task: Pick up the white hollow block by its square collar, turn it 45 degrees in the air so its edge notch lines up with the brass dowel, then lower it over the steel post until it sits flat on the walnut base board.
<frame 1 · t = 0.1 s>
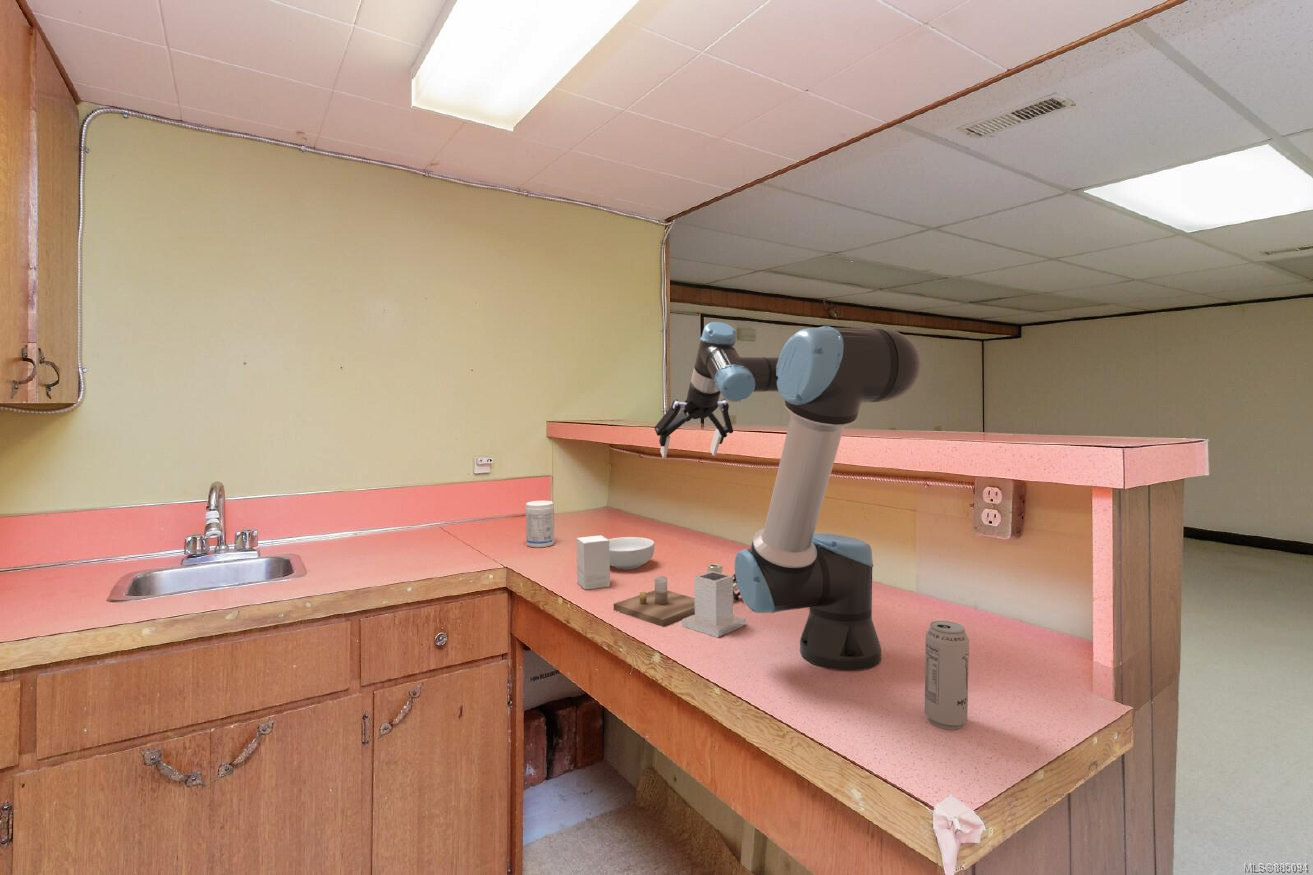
hand: (688, 453, 162), 36 cm above the counter, tool tilted 35°, fingers open, 13 cm apart
cereal bowl: (626, 566, 189), on the counter
valve: (723, 595, 161), on the counter
base board: (661, 609, 150), on the counter
energy drink can: (945, 722, 98), on the counter
white hollow block: (713, 625, 139), on the counter
supplement tub: (540, 545, 217), on the counter
supplement box: (593, 585, 170), on the counter
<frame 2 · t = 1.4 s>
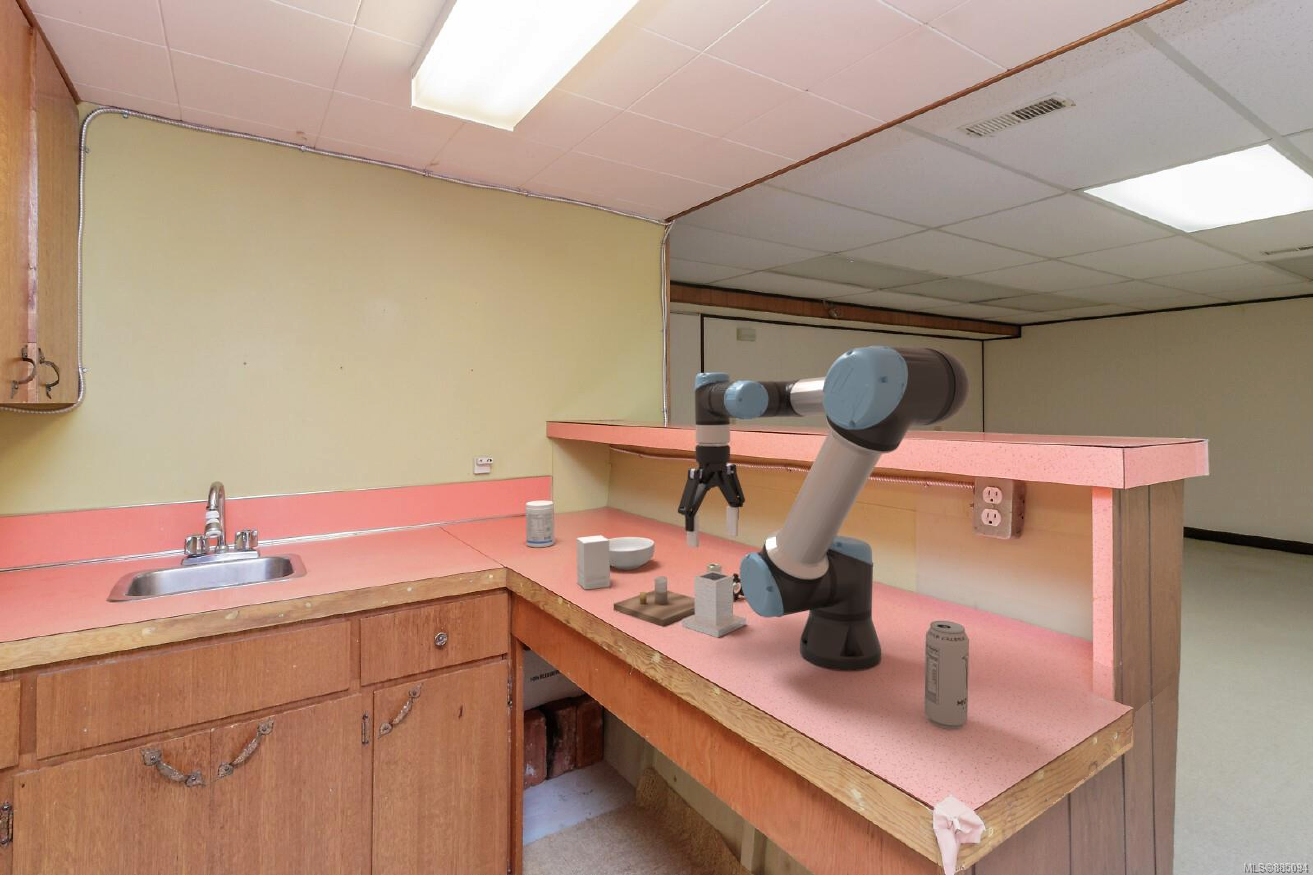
hand: (713, 540, 138), 19 cm above the counter, tool pointing down, fingers open, 13 cm apart
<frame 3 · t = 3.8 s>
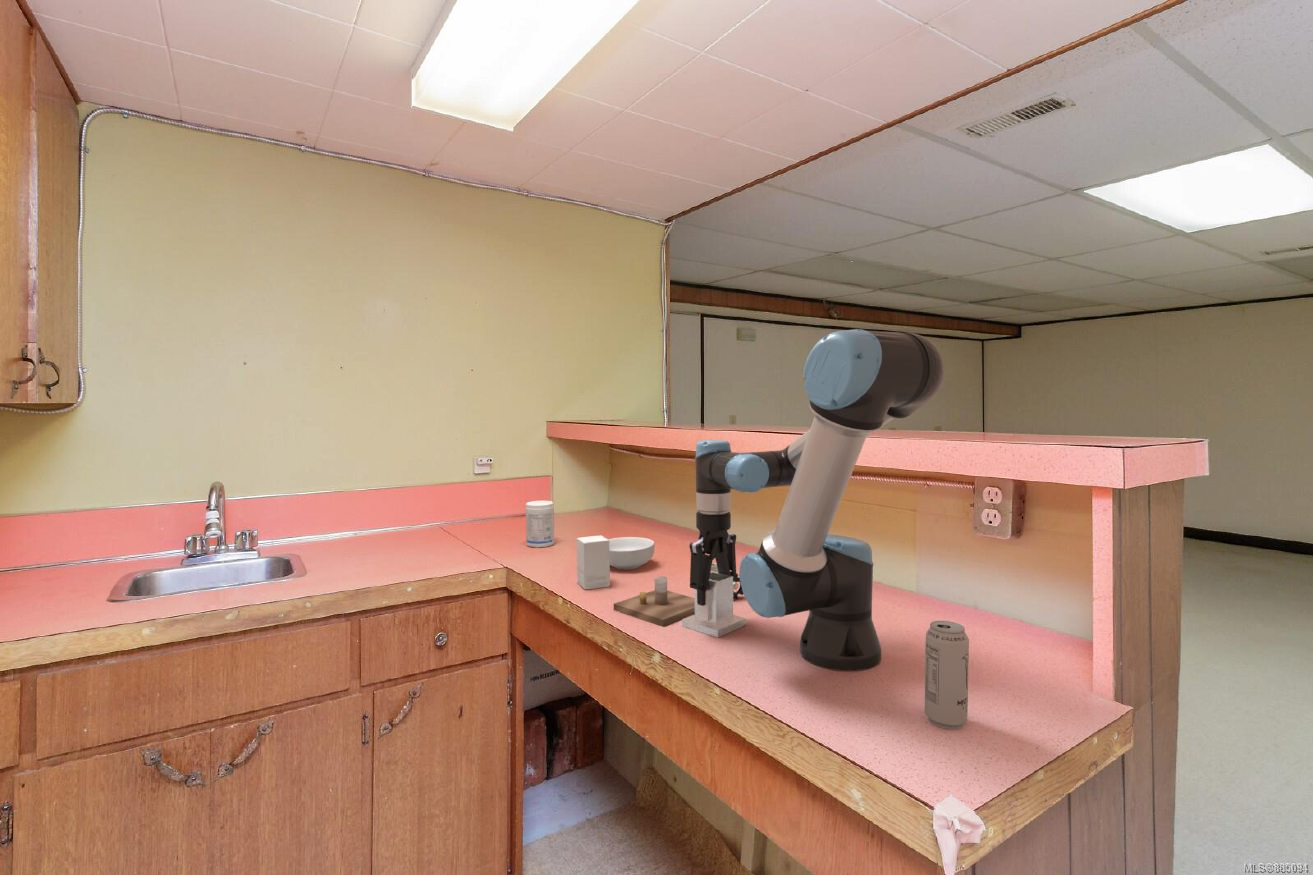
hand: (713, 614, 139), 2 cm above the counter, tool pointing down, fingers closed on white hollow block, 6 cm apart
white hollow block: (714, 625, 139), on the counter, touching gripper
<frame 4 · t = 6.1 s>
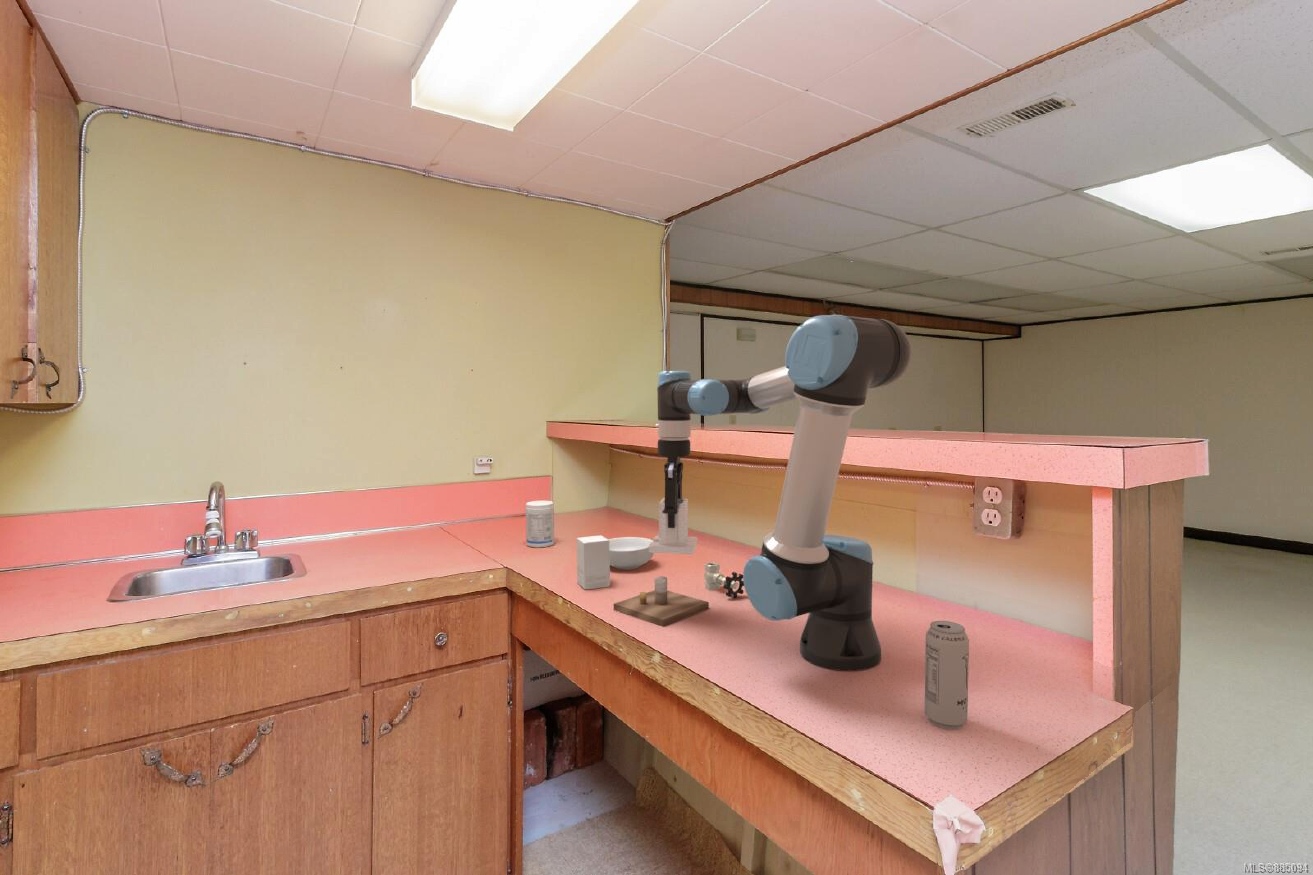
hand: (673, 537, 147), 18 cm above the counter, tool pointing down, fingers closed on white hollow block, 6 cm apart
white hollow block: (673, 547, 147), point 15 cm above the counter, touching gripper
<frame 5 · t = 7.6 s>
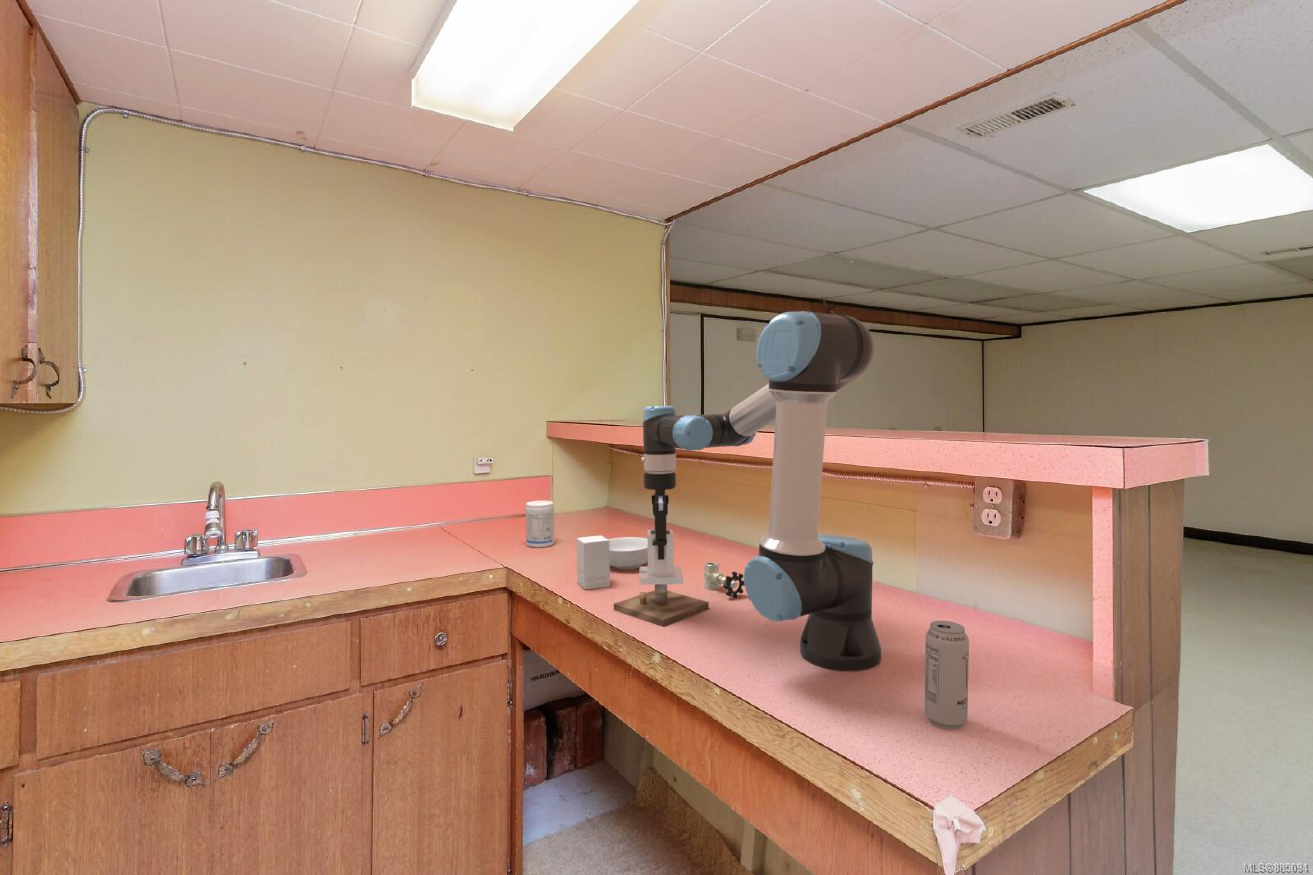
hand: (660, 568, 150), 10 cm above the counter, tool pointing down, fingers closed on white hollow block, 6 cm apart
white hollow block: (660, 578, 150), point 7 cm above the counter, touching gripper
when the fingers open (5 cm above the counter, at t = 8.8 s): white hollow block drops 1 cm, resting on base board.
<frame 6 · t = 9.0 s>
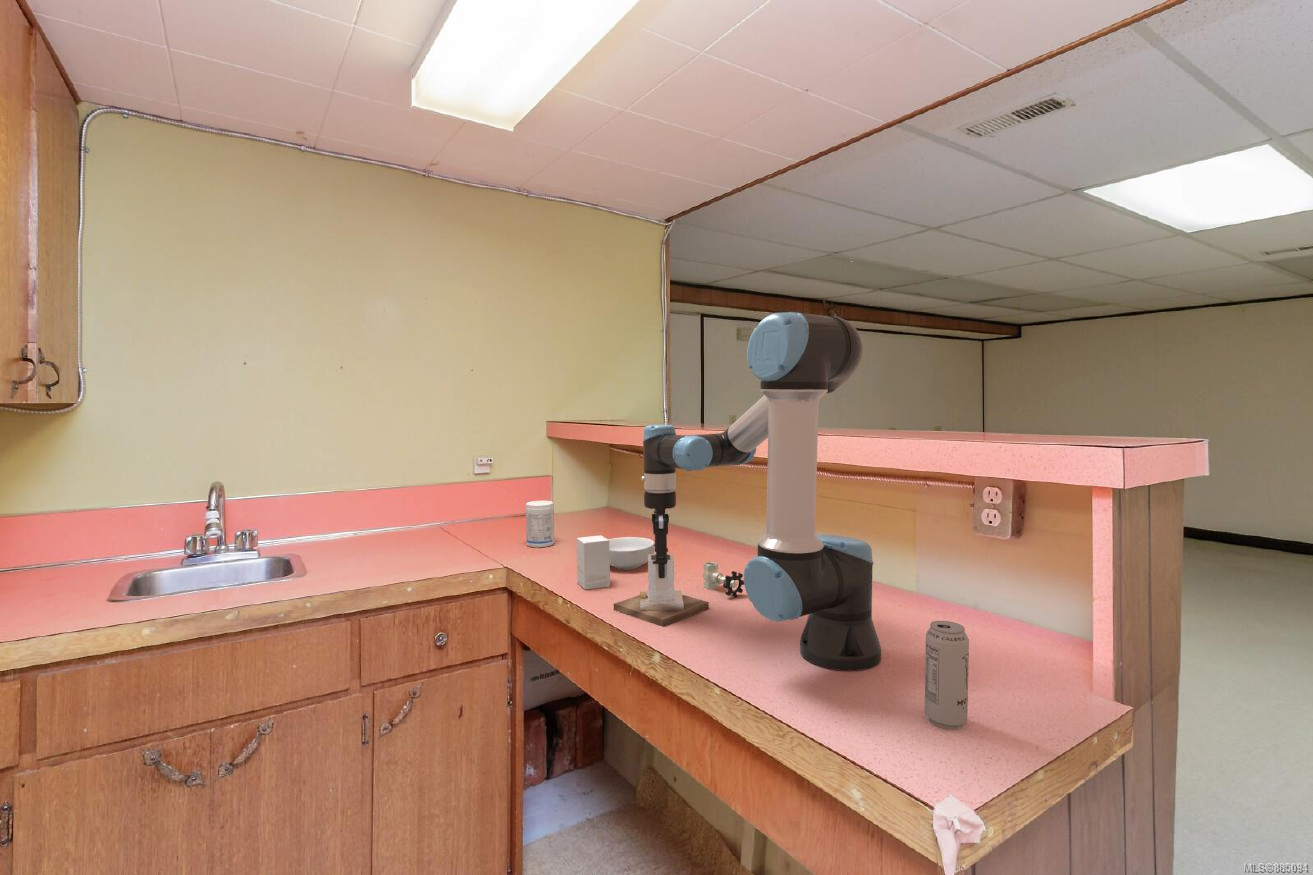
hand: (661, 585, 150), 6 cm above the counter, tool pointing down, fingers open, 8 cm apart
white hollow block: (661, 602, 150), point 1 cm above the counter, touching base board
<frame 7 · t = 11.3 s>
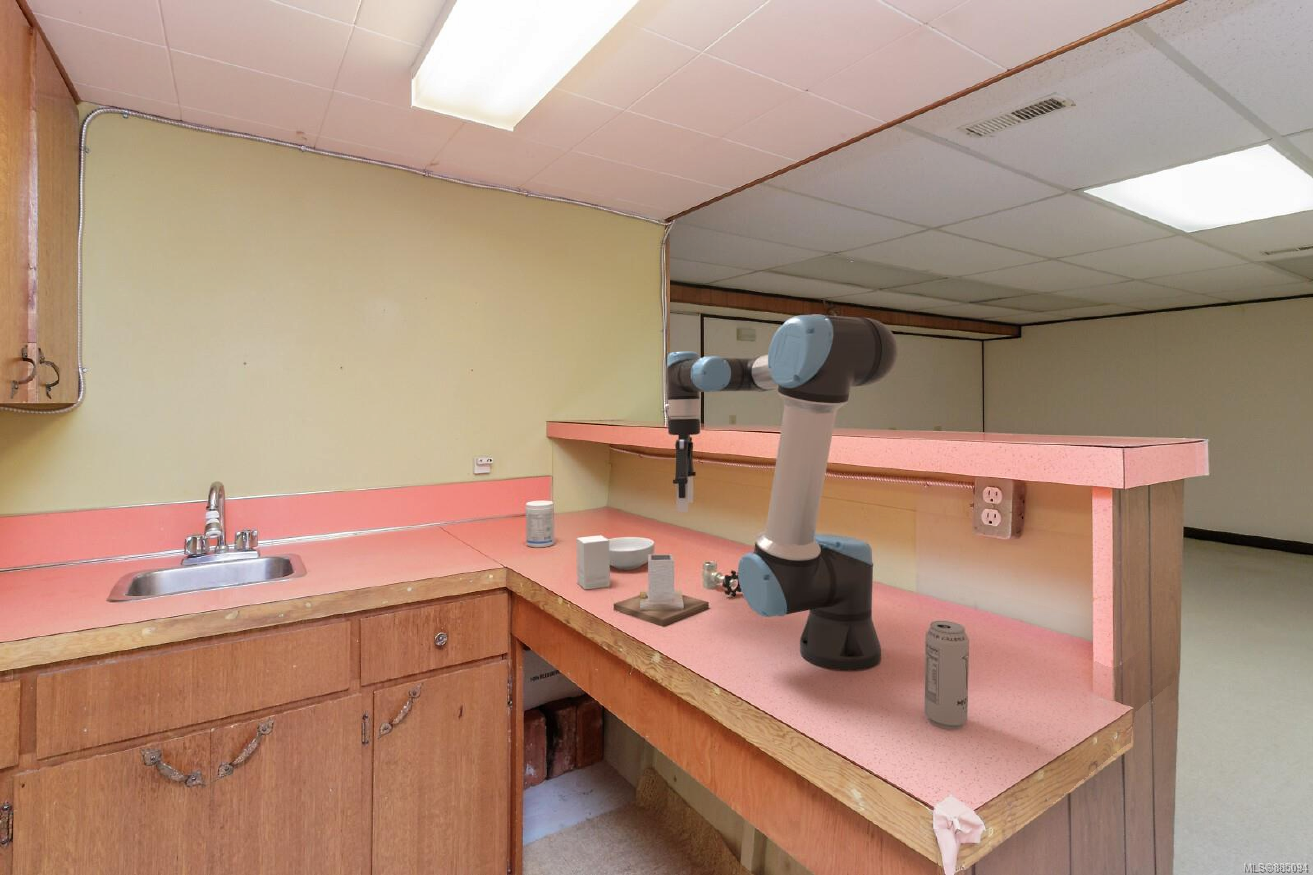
hand: (685, 507, 150), 24 cm above the counter, tool pointing down, fingers open, 13 cm apart
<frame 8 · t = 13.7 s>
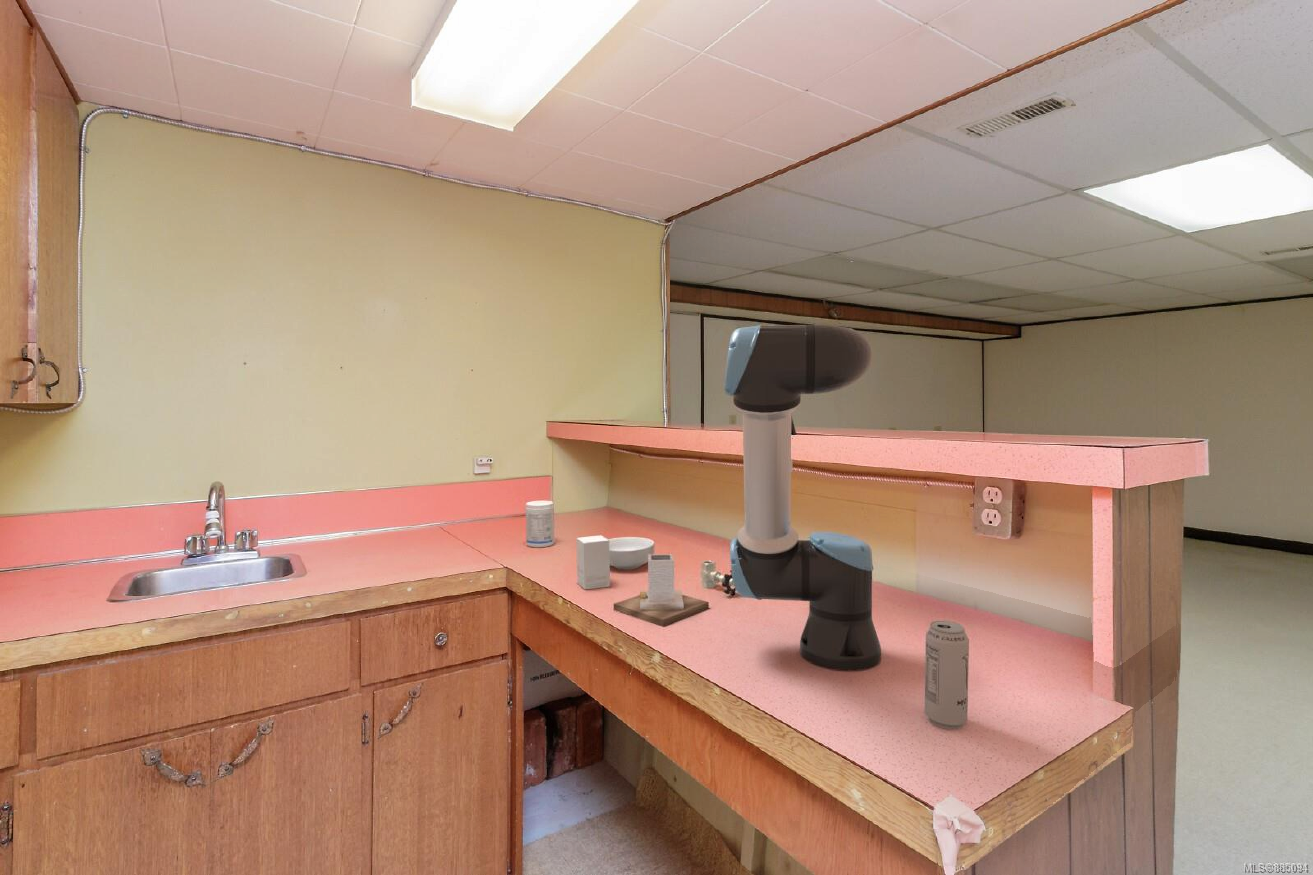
hand: (772, 474, 157), 31 cm above the counter, tool pointing down, fingers open, 13 cm apart
at the end: white hollow block 0.0 cm off-centre on the base board, point 1.5 cm above the base board's base; white hollow block tilted 0°; the gripper is holding nothing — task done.
